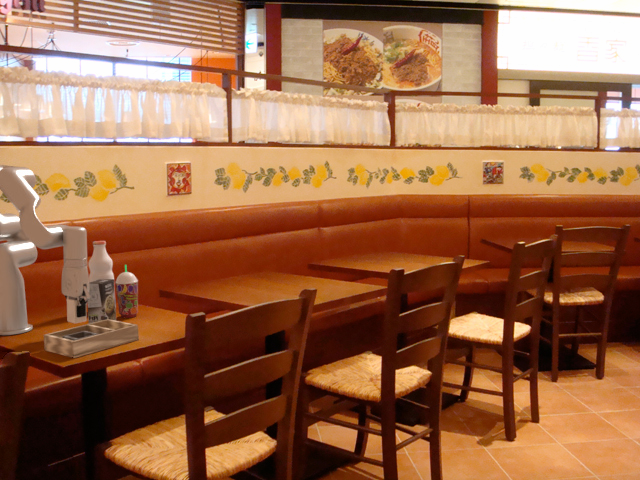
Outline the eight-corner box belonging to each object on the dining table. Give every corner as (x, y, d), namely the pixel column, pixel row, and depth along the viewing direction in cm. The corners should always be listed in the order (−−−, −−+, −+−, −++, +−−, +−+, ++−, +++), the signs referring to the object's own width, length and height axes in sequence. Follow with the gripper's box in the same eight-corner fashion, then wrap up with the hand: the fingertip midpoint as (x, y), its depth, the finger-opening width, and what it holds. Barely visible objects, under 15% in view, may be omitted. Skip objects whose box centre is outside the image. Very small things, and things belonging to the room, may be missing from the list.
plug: (67, 321, 228) (66, 295, 227) (78, 318, 231) (78, 293, 230) (75, 323, 225) (74, 297, 224) (86, 321, 229) (86, 295, 228)
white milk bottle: (96, 308, 270) (92, 240, 266) (119, 308, 269) (115, 239, 266) (87, 313, 260) (82, 243, 257) (111, 313, 260) (106, 242, 257)
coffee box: (104, 327, 237) (101, 283, 235) (88, 327, 239) (85, 283, 237) (117, 321, 246) (114, 278, 244) (101, 321, 248) (98, 278, 246)
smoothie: (128, 319, 248) (124, 267, 246) (112, 317, 253) (109, 265, 250) (144, 315, 255) (141, 263, 253) (129, 313, 260) (126, 262, 257)
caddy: (44, 350, 210) (43, 334, 209) (108, 333, 229) (107, 319, 229) (74, 358, 201) (73, 341, 200) (138, 339, 220) (137, 324, 219)
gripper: (51, 261, 228) (52, 313, 230) (80, 267, 218) (81, 321, 220) (70, 258, 234) (72, 309, 236) (100, 264, 224) (101, 317, 226)
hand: (76, 314), depth 228 cm, fingers closed on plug, 4 cm apart
